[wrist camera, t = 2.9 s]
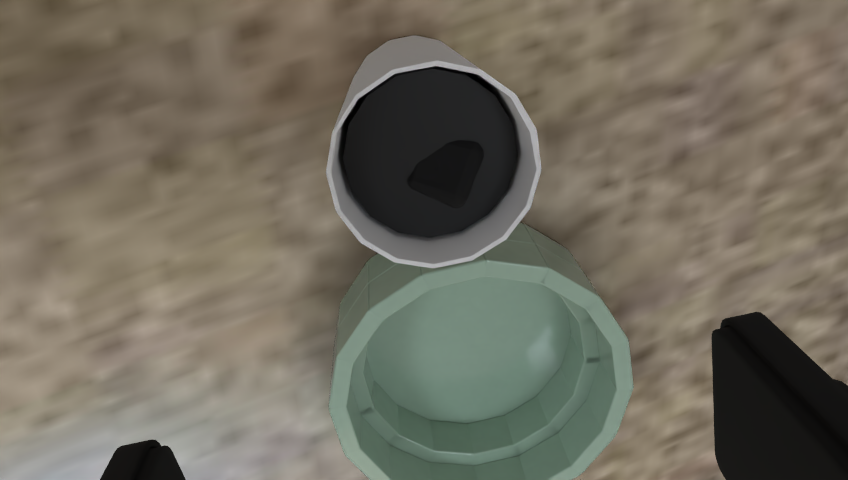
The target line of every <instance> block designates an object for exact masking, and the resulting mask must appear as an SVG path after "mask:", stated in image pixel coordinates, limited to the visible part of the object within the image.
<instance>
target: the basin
mask: <svg viewBox="0 0 848 480" xmlns="http://www.w3.org/2000/svg"><path fill="white" fill-rule="evenodd" d="M633 388H634V386H633V377H632V367H631V358H630V348H629V340H628V338H627V336H626V335H625V333H624V332H623V330H622V329H621V327H620V326H619V324H618V323H617V321H616V320H615V318H614V317H613V315H612V314H611V312H610V311H609V309H608V308H607V306H606V305H605V304H604V302H603V301H602V299H601V298H600V296H599V295H598V293H597V292H596V290H595V289H594V287H593V286H592V284H591V283H590V281H589V280H588V278H587V277H586V275H585V274H584V272H583V271H582V269H581V268H580V266H579V265H578V263H577V262H576V260H575V259H574V257H573V256H572V254H571V253H570V251H568V250H567V249H566V248H565V247H563V246H561V245H560V244H558V243H556V242H555V241H553V240H551V239H550V238H548V237H546V236H544V235H543V234H541V233H539V232H538V231H536V230H534V229H533V228H531V227H529V226H528V225H526V224H523V223H519V224H518V225H517V226H516V227H515V229H514V230H513V231H512V233H511V234H510V235H509V236H508V238H507V239H506V240H505V241H503V242H501V243H500V244H498V245H497V246H495V247H493V248H492V249H490V250H488V251H487V252H485V253H484V254H482V255H480V256H479V257H477V258H475V259H474V260H472V261H467V262H462V263H458V264H453V265H448V266H443V267H438V268H427V267H421V266H414V265H408V264H401V263H395V262H393V261H391V260H389V259H388V258H386V257H384V256H382V255H381V254H379V253H378V254H376V255H375V256H373V257H372V258H370V259H369V261H367V262H366V264H365V265H364V267H363V268H362V270H361V271H360V273H359V275H358V276H357V278H356V279H355V281H354V282H353V284H352V285H351V287H350V288H349V290H348V291H347V293H346V294H345V296H344V297H343V299H342V300H341V303H340V306H339V313H338V320H337V327H336V334H335V341H334V349H333V360H332V372H331V383H330V395H329V412H330V415H331V418H332V420H333V423H334V426H335V429H336V432H337V435H338V437H339V440H340V443H341V446H342V449H343V452H344V454H345V456H346V457H347V458H348V459H349V460H350V461H351V462H353V463H354V464H355V465H356V466H357V467H358V468H359V469H360V470H361V471H362V472H363V473H364V474H365V475H366V476H367V477H368V478H369V479H370V480H572V479H574V478H576V477H577V476H579V475H581V473H583V472H584V471H585V470H586V469H587V468H588V466H589V465H590V464H591V463H592V462H593V461H594V460H595V459H596V457H597V456H598V455H599V454H600V453H601V452H602V451H603V450H604V449H605V447H606V446H607V445H608V444H609V443H610V442H611V441H612V440H613V439H614V437H615V436H616V434H617V432H618V429H619V427H620V424H621V421H622V418H623V416H624V413H625V410H626V407H627V405H628V402H629V399H630V396H631V394H632V391H633Z"/></svg>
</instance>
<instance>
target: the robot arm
mask: <svg viewBox="0 0 848 480" xmlns="http://www.w3.org/2000/svg"><path fill="white" fill-rule="evenodd" d="M712 365H713V401H714V437H715V455H716V460H717V463H718V466H719V468H720V470H721V472H722V474H723V476H724V477H725V479H726V480H848V386H847V385H846V384H844V383H843V382H842V381H838V380H834V379H832V378H831V377H830V376H829V375H828V374H827V373H826V372H825V371H823V370H822V369H821V368H820V367H819V366H818V365H817V364H816V363H815V362H814V361H813V360H812V359H811V358H810V357H809V356H807V355H806V354H805V353H804V352H803V351H802V350H801V349H800V348H799V347H798V346H797V345H796V344H795V343H794V342H793V341H791V340H790V339H789V338H788V337H787V336H786V335H785V334H784V333H783V332H782V331H781V330H780V329H779V328H778V327H777V326H775V325H774V324H773V323H772V322H771V321H770V320H769V319H768V318H767V317H766V316H765V315H763V314H762V313H760V312H754V313H749V314H745V315H740V316H735V317H730V318H726V319H724V320H722V323H721V328H720V329H716V330H714V331H713V333H712ZM100 480H185V477H184V475H183V473H182V471H181V469H180V467H179V465H178V463H177V460H176V458H175V456H174V454H173V452H172V450H171V449H170V448H169V447H168V446H161V445H160V443H159V442H157V441H156V440H148V441H143V442H138V443H133V444H129V445H124V446H121V447H119V448H117V450H116V451H115V452H114V454H113V456H112V458H111V460H110V462H109V464H108V466H107V468H106V469H105V471H104V473H103V475H102V477H101V479H100Z"/></svg>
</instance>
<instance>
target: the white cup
mask: <svg viewBox="0 0 848 480" xmlns="http://www.w3.org/2000/svg"><path fill="white" fill-rule="evenodd" d="M540 173H541V161H540V153H539V144H538V136H537V129H536V128H535V126H534V124H533V122H532V121H531V119H530V117H529V116H528V114H527V112H526V111H525V109H524V107H523V106H522V104H521V102H520V101H519V99H518V97H517V95H516V94H515V93H513V92H512V91H511V90H509V89H508V88H506V87H505V86H504V85H502V84H501V83H499V82H498V81H496V80H495V79H494V78H492V77H491V76H489V75H488V74H487V73H485V72H484V71H482V70H481V69H480V68H478V67H477V66H475V65H474V64H472V63H471V62H470V61H468V60H467V59H465V58H464V57H462V56H461V55H460V54H458V53H457V52H456V51H454V50H453V49H451V48H450V47H448V46H447V45H446V44H444V43H443V42H441V41H440V40H435V39H431V38H426V37H421V36H416V35H412V36H408V37H403V38H398V39H393V40H389V41H387V42H386V43H384V44H383V45H381V46H380V47H378V48H377V49H376V50H374V51H373V52H371V53H370V54H368V55H367V56H366V58H365V60H364V61H363V63H362V64H361V66H360V68H359V69H358V71H357V72H356V74H355V76H354V77H353V80H352V83H351V85H350V88H349V90H348V93H347V95H346V98H345V101H344V103H343V106H342V108H341V111H340V113H339V116H338V119H337V121H336V124H335V126H334V129H333V132H332V138H331V144H330V150H329V157H328V163H327V170H326V175H327V179H328V183H329V186H330V190H331V194H332V198H333V202H334V205H335V209H336V212H337V214H338V215H339V216H340V217H341V219H342V220H343V221H344V223H345V224H346V225H347V226H348V228H349V229H350V230H351V231H352V233H353V234H354V235H355V237H356V238H357V239H358V240H359V242H360V243H361V244H363V245H365V246H367V247H368V248H370V249H372V250H374V251H375V252H377V253H379V254H381V255H382V256H384V257H386V258H388V259H389V260H391V261H393V262H395V263H401V264H408V265H414V266H421V267H427V268H438V267H443V266H448V265H453V264H458V263H462V262H467V261H472V260H474V259H475V258H477V257H479V256H480V255H482V254H484V253H485V252H487V251H488V250H490V249H492V248H493V247H495V246H497V245H498V244H500V243H501V242H503V241H505V240H506V239H507V238H508V236H509V235H510V234H511V233H512V231H513V230H514V229H515V227H516V226H517V225H518V224H519V222H520V221H521V220H522V218H523V217H524V216H525V215H526V213H527V212H528V211H529V209H530V208H531V204H532V201H533V197H534V194H535V191H536V187H537V184H538V180H539V177H540Z"/></svg>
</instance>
